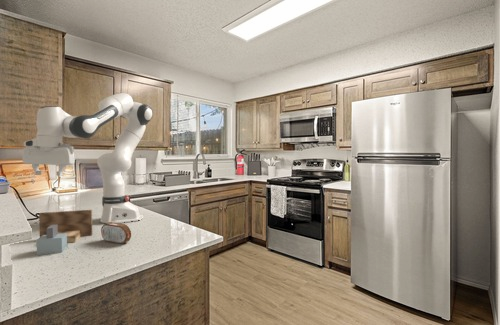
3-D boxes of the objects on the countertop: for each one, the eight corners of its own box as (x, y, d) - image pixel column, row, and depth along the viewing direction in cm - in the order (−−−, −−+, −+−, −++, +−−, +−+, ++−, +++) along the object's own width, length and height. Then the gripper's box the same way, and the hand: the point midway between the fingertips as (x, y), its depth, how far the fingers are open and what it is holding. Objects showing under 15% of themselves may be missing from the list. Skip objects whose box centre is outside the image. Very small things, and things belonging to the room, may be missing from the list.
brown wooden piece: (92, 234, 120) (92, 209, 120) (87, 240, 111) (86, 214, 111) (41, 239, 113) (40, 212, 112) (31, 246, 104) (30, 217, 104)
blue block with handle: (67, 247, 104) (66, 223, 103) (61, 252, 98) (61, 227, 98) (43, 249, 101) (42, 225, 101) (36, 255, 95) (36, 229, 95)
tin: (131, 243, 109) (131, 224, 109) (126, 245, 106) (125, 226, 106) (105, 239, 114) (105, 220, 114) (99, 241, 111) (99, 222, 111)
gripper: (78, 144, 111) (77, 175, 111) (32, 143, 111) (32, 174, 111) (68, 143, 105) (67, 176, 105) (19, 142, 105) (18, 174, 105)
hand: (48, 175), depth 108 cm, fingers open, 8 cm apart
